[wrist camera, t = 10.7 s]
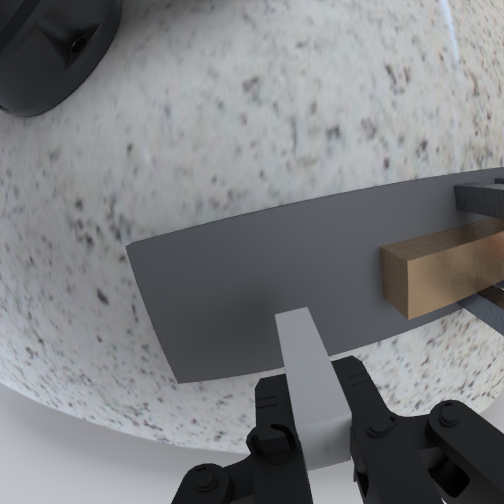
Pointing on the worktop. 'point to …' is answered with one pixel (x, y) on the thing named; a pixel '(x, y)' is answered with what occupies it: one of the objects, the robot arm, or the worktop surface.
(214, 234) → the base plate
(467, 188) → the collar
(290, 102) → the worktop surface
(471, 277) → the brown wooden bar
